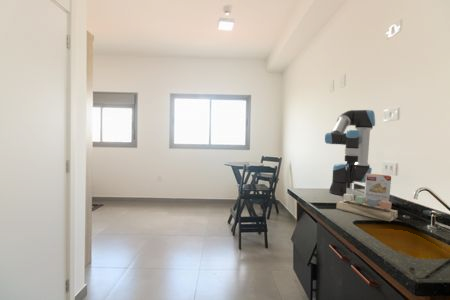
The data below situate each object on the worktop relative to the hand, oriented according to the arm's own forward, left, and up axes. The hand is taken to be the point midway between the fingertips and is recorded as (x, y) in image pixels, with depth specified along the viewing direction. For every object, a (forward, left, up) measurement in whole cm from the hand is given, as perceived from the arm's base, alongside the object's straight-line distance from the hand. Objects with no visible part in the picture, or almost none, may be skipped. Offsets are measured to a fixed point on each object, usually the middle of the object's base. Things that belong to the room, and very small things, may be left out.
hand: (348, 193), depth 172 cm
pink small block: (0, +21, -7) cm, 22 cm away
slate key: (0, +14, -7) cm, 16 cm away
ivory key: (0, 0, -7) cm, 7 cm away
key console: (0, +10, -10) cm, 14 cm away
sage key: (0, +7, -7) cm, 10 cm away
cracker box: (-22, +8, -10) cm, 26 cm away
